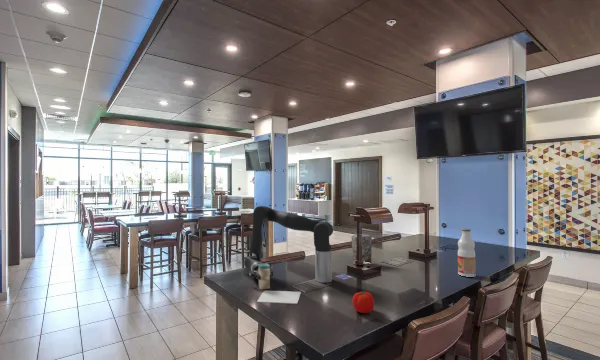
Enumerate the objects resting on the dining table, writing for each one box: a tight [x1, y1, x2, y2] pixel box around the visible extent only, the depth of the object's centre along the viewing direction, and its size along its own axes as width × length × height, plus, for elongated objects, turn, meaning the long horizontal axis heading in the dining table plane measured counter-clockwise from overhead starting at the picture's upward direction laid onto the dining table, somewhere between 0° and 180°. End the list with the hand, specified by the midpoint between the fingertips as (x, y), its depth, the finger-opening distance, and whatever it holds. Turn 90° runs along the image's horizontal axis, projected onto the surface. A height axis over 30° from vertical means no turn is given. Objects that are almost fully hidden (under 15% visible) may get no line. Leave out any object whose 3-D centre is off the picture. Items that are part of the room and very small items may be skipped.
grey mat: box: [256, 290, 302, 305], centre depth 149 cm, size 19×15×1 cm
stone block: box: [351, 234, 373, 264], centre depth 212 cm, size 13×7×20 cm, turn 116°
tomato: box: [352, 289, 375, 314], centre depth 131 cm, size 9×10×8 cm
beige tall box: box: [258, 263, 271, 290], centre depth 163 cm, size 5×5×12 cm
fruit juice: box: [457, 228, 477, 278], centre depth 183 cm, size 9×9×28 cm
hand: (265, 277), depth 160 cm, fingers closed on beige tall box, 5 cm apart
